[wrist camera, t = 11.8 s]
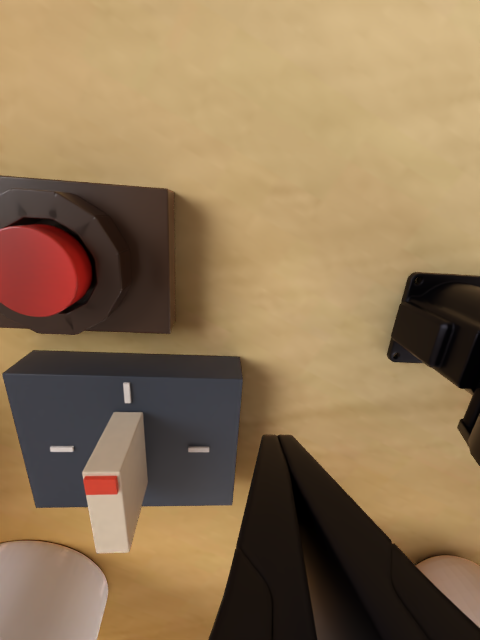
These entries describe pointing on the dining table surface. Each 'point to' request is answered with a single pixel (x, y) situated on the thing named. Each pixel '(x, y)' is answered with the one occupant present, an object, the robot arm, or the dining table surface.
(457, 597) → the vase
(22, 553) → the utensil holder
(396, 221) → the dining table surface
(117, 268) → the button block
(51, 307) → the button
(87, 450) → the control panel
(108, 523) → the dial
